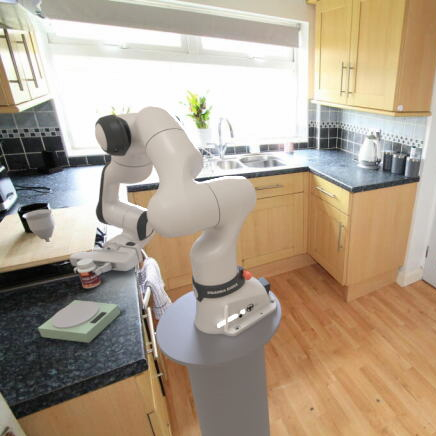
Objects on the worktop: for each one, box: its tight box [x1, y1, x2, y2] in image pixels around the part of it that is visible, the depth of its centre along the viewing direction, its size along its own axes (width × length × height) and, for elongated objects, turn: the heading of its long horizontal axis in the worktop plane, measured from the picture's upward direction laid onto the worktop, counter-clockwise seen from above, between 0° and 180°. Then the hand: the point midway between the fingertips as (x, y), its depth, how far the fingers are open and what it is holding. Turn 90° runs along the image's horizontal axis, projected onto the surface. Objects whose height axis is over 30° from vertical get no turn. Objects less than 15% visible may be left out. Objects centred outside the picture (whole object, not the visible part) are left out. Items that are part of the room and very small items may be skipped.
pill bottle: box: [76, 258, 102, 289], centre depth 98 cm, size 5×5×8 cm
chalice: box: [22, 209, 55, 243], centre depth 108 cm, size 7×7×18 cm
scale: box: [37, 299, 121, 344], centre depth 84 cm, size 11×13×4 cm
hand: (85, 272), depth 97 cm, fingers closed on pill bottle, 5 cm apart
